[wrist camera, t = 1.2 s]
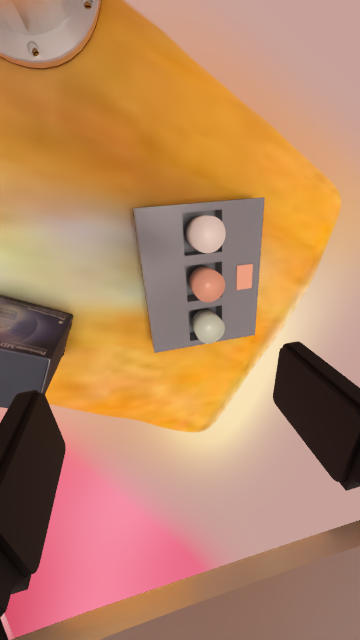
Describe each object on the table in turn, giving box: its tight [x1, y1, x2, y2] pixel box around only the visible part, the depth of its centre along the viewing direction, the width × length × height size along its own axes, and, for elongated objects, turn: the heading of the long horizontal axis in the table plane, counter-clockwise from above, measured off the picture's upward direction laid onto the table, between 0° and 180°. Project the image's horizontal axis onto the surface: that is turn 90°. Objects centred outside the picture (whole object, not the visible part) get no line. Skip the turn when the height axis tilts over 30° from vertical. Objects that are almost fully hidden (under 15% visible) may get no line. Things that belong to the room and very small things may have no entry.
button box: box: [133, 198, 264, 353], centre depth 30 cm, size 17×14×3 cm
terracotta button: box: [189, 266, 225, 302], centre depth 28 cm, size 4×4×2 cm
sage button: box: [191, 309, 225, 344], centre depth 30 cm, size 4×4×2 cm
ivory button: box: [186, 215, 226, 253], centre depth 25 cm, size 4×4×2 cm
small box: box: [0, 296, 73, 408], centre depth 24 cm, size 11×6×10 cm, turn 67°
